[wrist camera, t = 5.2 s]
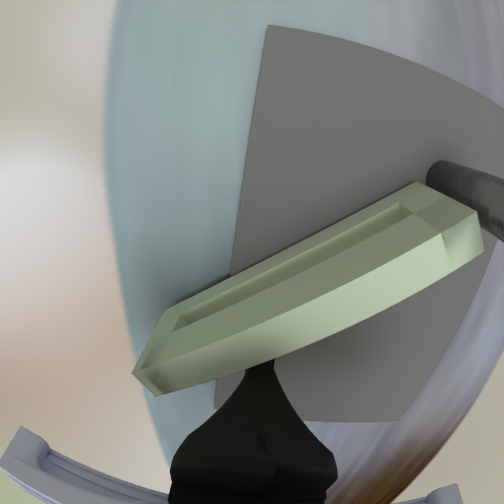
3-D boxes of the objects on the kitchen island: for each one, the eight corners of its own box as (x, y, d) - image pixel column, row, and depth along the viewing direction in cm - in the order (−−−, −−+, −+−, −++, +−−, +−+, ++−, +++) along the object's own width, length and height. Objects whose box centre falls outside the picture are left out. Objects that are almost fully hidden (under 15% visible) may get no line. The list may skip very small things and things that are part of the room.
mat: (396, 416, 19) (398, 420, 18) (214, 403, 19) (213, 408, 18) (517, 121, 10) (523, 121, 9) (268, 28, 10) (268, 24, 10)
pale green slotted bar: (182, 330, 15) (155, 396, 11) (165, 310, 15) (131, 373, 11) (426, 210, 12) (484, 251, 8) (415, 181, 11) (476, 211, 7)
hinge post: (448, 203, 12) (542, 263, 6) (416, 194, 12) (510, 253, 6) (457, 165, 12) (560, 205, 5) (425, 153, 12) (530, 186, 5)
